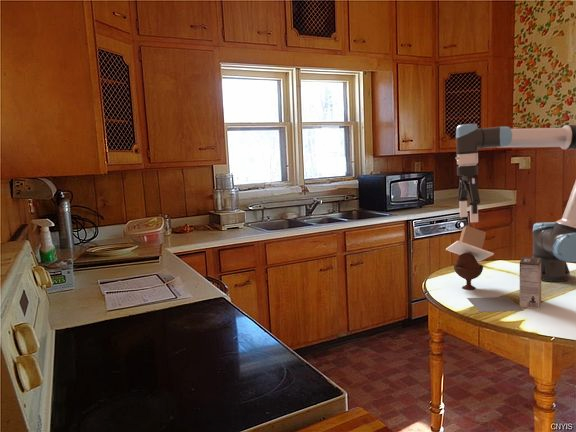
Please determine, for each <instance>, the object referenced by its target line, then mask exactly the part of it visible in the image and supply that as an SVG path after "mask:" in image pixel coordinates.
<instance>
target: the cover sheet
mask: <svg viewBox="0 0 576 432" xmlns="http://www.w3.org/2000/svg"><path fill="white" fill-rule="evenodd" d="M486 236H487V232H486V231H483V230H480V229H477V228H474V227H472V226H469V225H465V226H463V228H462V230H461V234H460V237H459V240H456V241H455V242H453V243H452V244H450V245H449V246H448V247H446V248H445V251H448V252H450V253H453V254H456V255H458V256H460V255H461V254H463V253H470V254H472V255H473V256H474V257H475V259H476V260H477V263H480V262H481V261H484V260H485V259H488V258H490V257H492V256H494V255H495V253H494V252H492V251H488V250H486V249H483V246H484V243H485V239H486Z"/></svg>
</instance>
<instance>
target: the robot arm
mask: <svg viewBox="0 0 576 432" xmlns="http://www.w3.org/2000/svg"><path fill="white" fill-rule="evenodd" d="M455 143H456V157H455V160H456V165H458V166H456V176H458V177H459V180H458V181H459V183H458V192H457V199H458V201H459V218H467V217H468V206H469V222H470V223H479V205H480V204H481V199H480V194H479V188H478V179H477V177H474V176H477V175H479V166H478V163H479V151H478V149H490V148H491V149H494V148H501V149H502V148H503V149H504V148H561V149H562V150H572V151H573V150H574V151H576V124H567V125H566V124H565V125H563V126H562V127H536V128H530V127H529V128H511V127H510V126H493V127H482V128H479V127H478V124H477V123H466V124H459V125H457V127H456V129H455ZM468 200H469V203H468ZM532 258H542V266H541V281H545V282H566V281H569V280H570V278H571V271H570V269H569V267H568V264H567V263H576V180H575V182H574V184H573V187H572V189H571V192H570V195H569V198H568V201H567V204H566V206H565V209H564V212H563V214H562V216H561V219H558V220H556V221H553V222H536V223H534V224H533V226H532Z"/></svg>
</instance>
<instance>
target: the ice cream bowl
mask: <svg viewBox="0 0 576 432" xmlns="http://www.w3.org/2000/svg"><path fill="white" fill-rule="evenodd" d="M453 269H454V271H455V274H457V275H458V276H459V277H461V278H462V279H465V282H466V284H465V285H463V286H462V287H461V289H463V290H466V291H475V290H476V289H477V288H476V287H475V286H474V285H473V284H472V280H474V279H477V278H478V277H480V275H481V274H482V272H483V270H484V265H482V264H480V262H478V261H477V260H476V259H475V257H474V256H473V255H472V254H470V253H463V254H461V255H458V259H457V260H456V263H455V264H454V265H453Z"/></svg>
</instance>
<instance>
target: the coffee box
mask: <svg viewBox="0 0 576 432" xmlns="http://www.w3.org/2000/svg"><path fill="white" fill-rule="evenodd" d="M541 266H542V258H533V257H532V256H531V257H529V256H523V257H521V258H520V260H519V307H520V308H529V309H531V308H532V309H537V310H538V309H541V305H542V280H541Z"/></svg>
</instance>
